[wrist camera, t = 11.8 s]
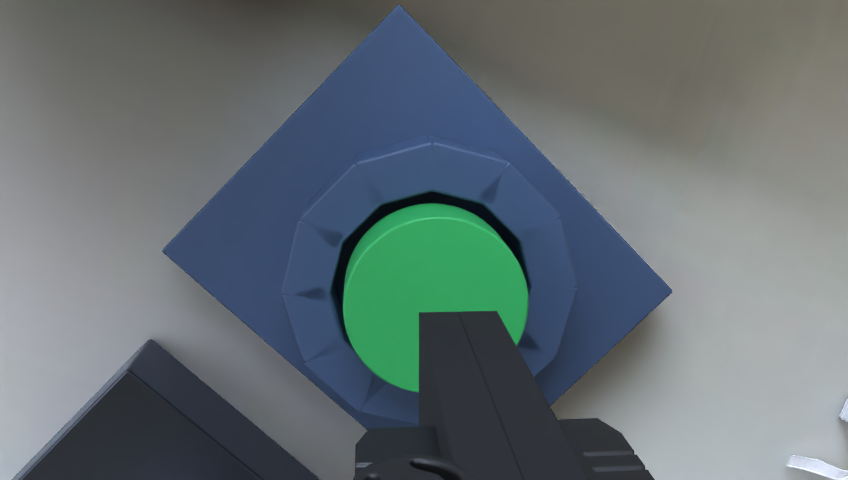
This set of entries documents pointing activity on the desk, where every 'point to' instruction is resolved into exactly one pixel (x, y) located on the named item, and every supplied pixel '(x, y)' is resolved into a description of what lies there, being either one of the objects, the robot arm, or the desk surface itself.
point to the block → (395, 189)
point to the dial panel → (160, 432)
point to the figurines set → (819, 465)
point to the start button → (425, 284)
